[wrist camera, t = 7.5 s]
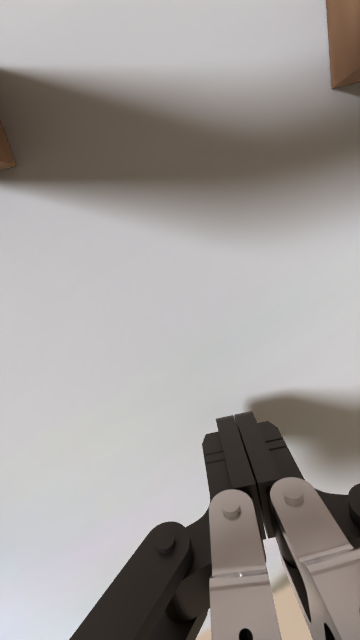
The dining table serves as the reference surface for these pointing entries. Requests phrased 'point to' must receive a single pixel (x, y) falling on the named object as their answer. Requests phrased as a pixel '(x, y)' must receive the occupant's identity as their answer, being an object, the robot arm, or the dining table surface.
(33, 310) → the dining table surface
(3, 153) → the bridge
